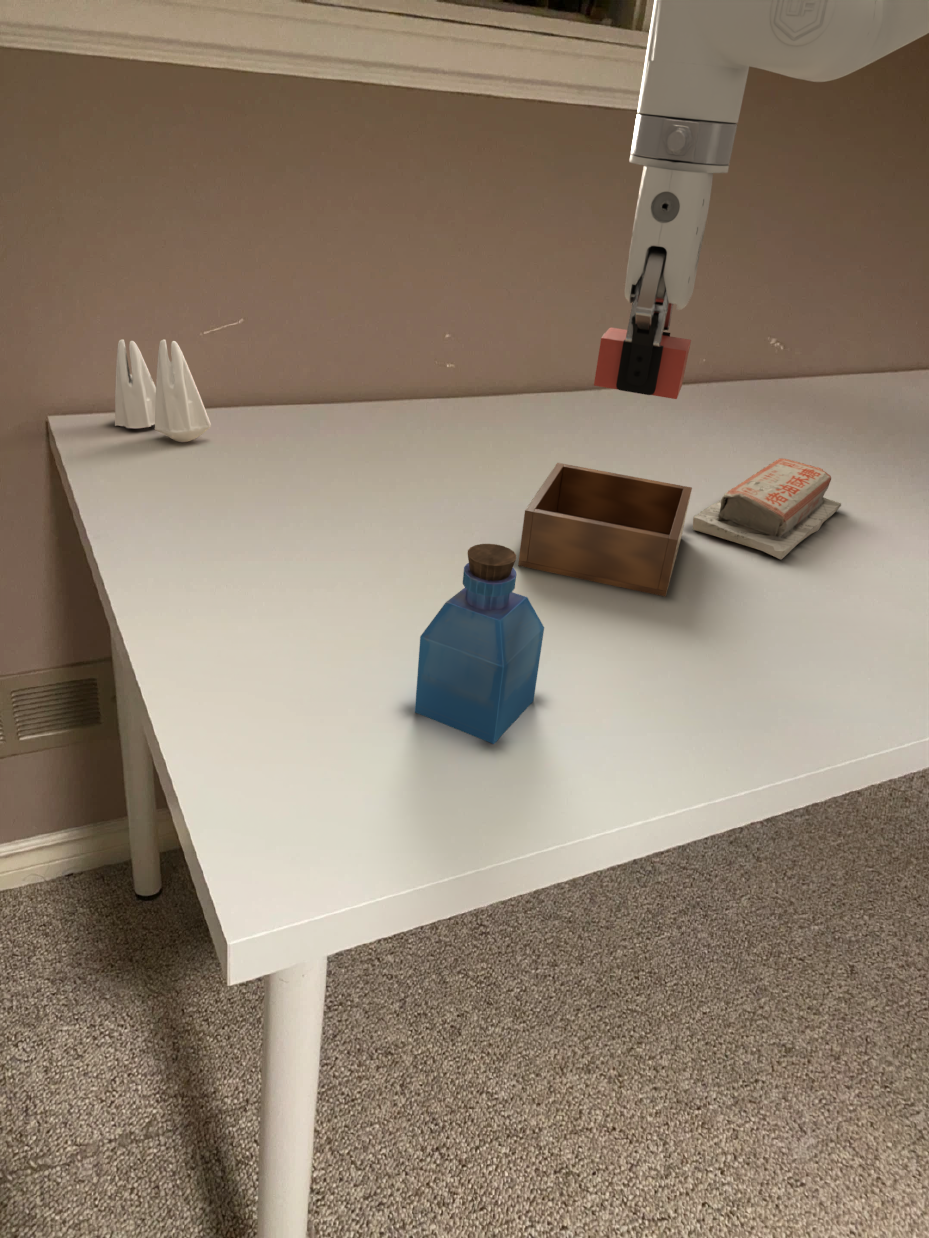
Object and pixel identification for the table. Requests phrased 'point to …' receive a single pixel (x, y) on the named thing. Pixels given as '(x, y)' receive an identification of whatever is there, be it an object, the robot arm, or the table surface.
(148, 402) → the shaker set
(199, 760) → the table surface
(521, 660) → the perfume bottle
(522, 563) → the holder
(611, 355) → the block
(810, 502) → the packaged product
